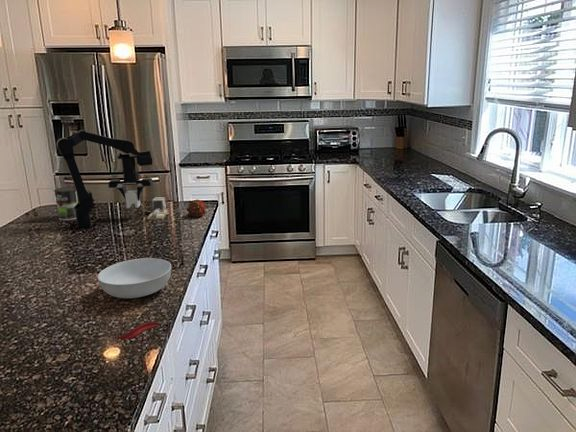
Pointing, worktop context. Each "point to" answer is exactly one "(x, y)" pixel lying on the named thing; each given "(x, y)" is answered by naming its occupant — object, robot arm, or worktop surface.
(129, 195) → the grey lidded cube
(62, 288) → the worktop surface
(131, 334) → the cayenne pepper
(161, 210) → the rail
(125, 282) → the serving bowl
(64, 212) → the grey green cylinder
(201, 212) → the dragon fruit
